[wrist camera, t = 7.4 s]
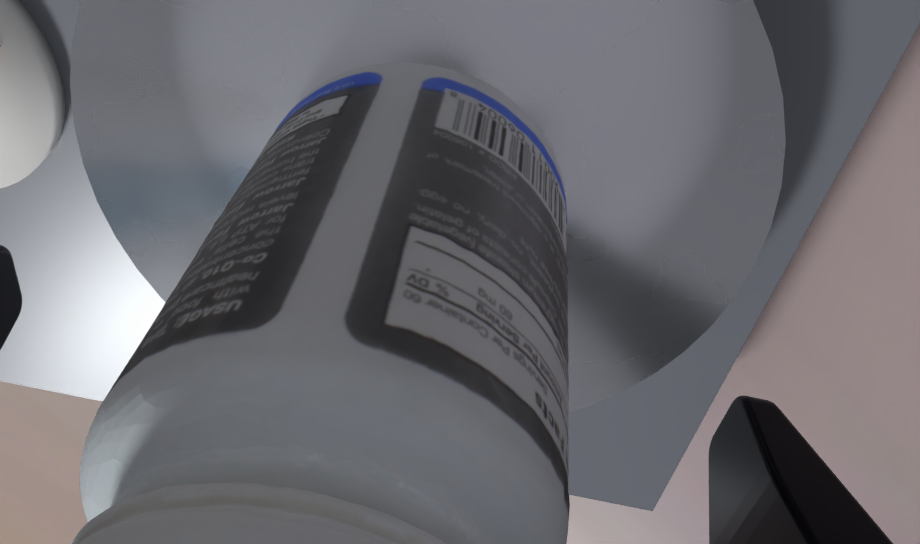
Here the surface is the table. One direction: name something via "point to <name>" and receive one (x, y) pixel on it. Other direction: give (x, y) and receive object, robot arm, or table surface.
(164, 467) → the pill bottle
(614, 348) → the scale pan
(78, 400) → the table surface
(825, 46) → the scale
